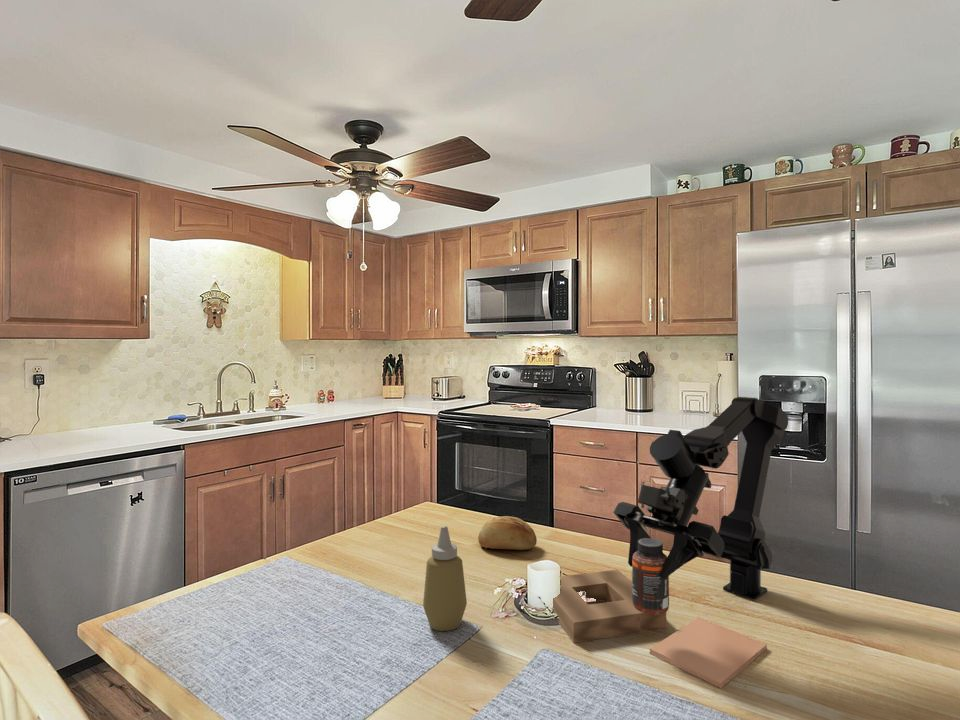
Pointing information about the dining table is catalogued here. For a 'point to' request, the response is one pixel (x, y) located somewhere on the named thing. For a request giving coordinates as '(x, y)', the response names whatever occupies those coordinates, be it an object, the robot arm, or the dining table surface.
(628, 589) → the walnut holder
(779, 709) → the dining table surface
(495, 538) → the bread roll
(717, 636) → the terracotta tile
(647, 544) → the supplement bottle
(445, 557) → the squeeze bottle
